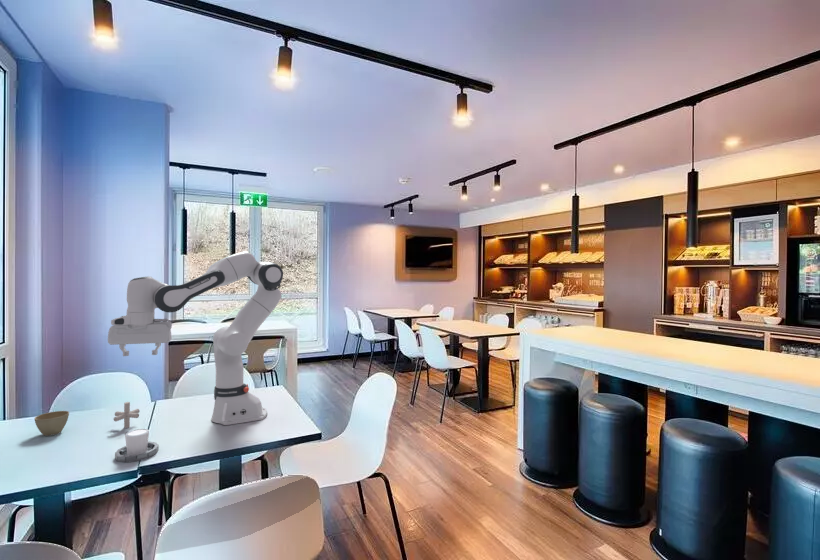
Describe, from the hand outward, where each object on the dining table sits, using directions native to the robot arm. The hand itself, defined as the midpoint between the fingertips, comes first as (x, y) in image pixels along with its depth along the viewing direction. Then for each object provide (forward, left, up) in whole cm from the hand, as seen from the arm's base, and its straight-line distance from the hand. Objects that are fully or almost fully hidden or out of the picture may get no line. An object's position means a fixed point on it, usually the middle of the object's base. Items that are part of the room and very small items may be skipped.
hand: (140, 355), depth 151 cm
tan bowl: (+33, -13, -31) cm, 47 cm away
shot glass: (-4, +17, -31) cm, 35 cm away
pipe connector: (+8, -12, -31) cm, 34 cm away
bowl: (-4, +17, -31) cm, 36 cm away
